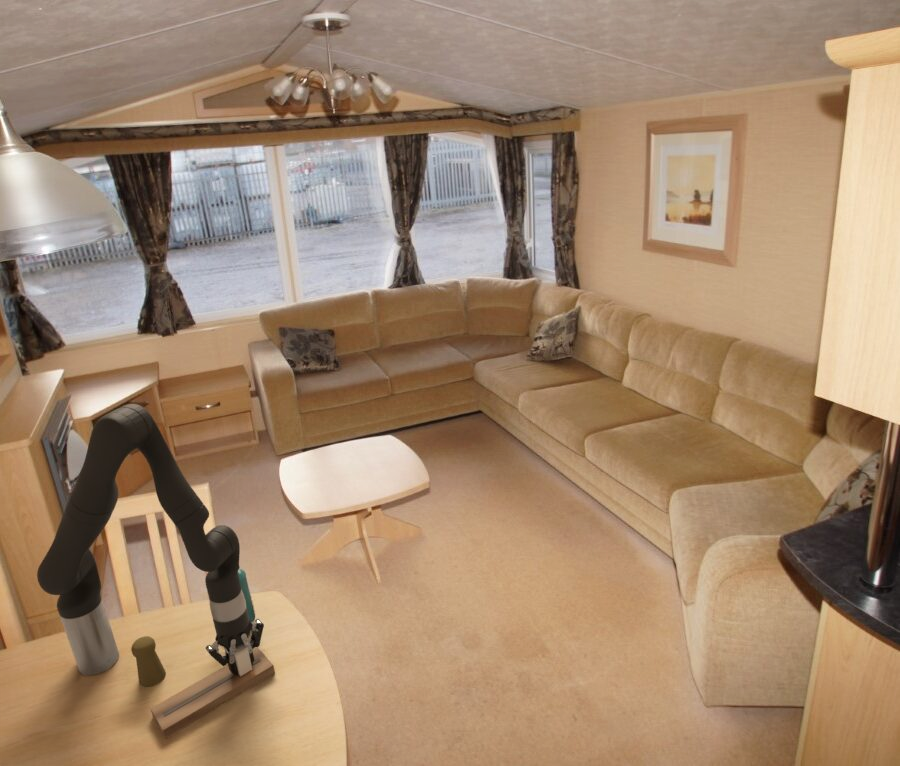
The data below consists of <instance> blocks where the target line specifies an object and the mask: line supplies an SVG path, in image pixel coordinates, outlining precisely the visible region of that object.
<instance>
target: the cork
mask: <svg viewBox="0 0 900 766" xmlns="http://www.w3.org/2000/svg"><path fill="white" fill-rule="evenodd" d="M156 647H157V646H156V641H155V639H154V638H153V637H152V636H147V635H146V636H145V635H144V636H141V637H139V638H137V639H136V640H135V641H134V642H133V643H132V644H131V648H130V651H131V654H132V656H134V657H135V659H136V667H137V675H138V677H137V678H138V683H139V686H141V687H143V688H153V687H155V686H157V685H159V684H160V683H162V682H163V680H165V678H166V676H167V675H166V674H167V672H166V669H165V668H164V665H163V664H162V662H161V659H160V657H159V656H158V654H157V651H156Z"/></svg>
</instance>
